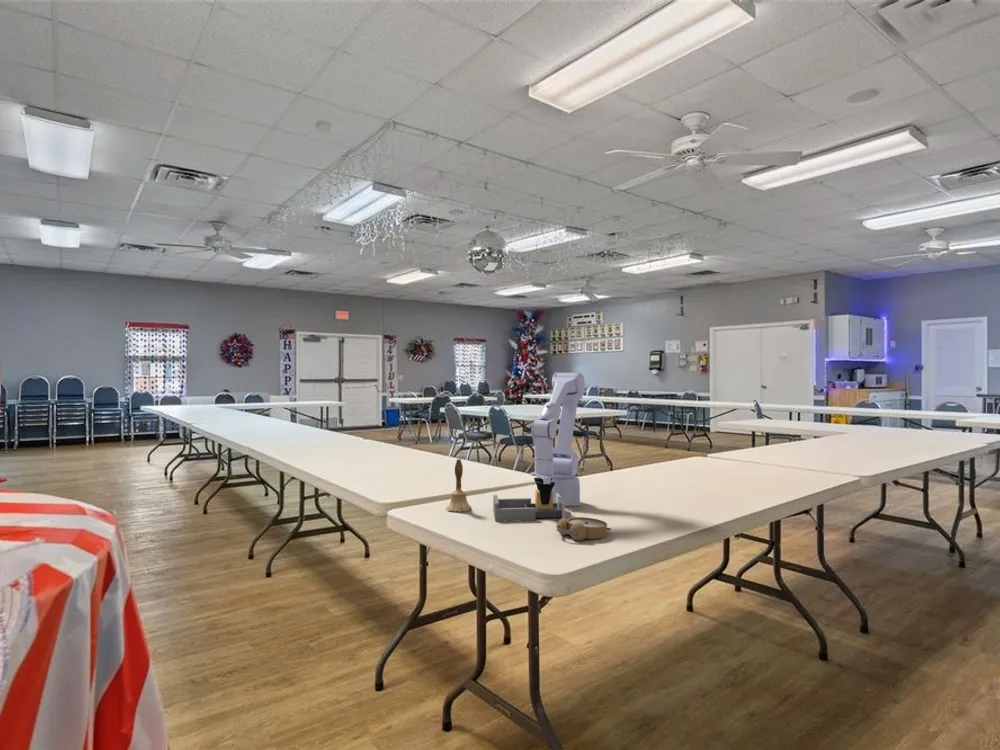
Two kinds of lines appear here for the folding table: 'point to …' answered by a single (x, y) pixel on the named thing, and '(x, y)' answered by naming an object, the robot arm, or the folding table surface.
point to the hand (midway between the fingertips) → (544, 502)
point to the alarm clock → (583, 528)
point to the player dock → (512, 509)
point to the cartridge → (539, 504)
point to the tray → (546, 513)
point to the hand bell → (458, 492)
